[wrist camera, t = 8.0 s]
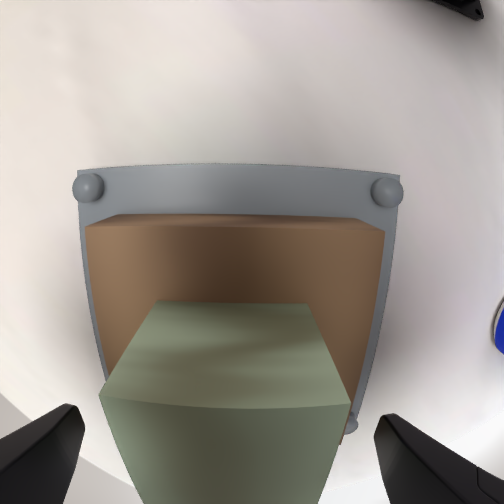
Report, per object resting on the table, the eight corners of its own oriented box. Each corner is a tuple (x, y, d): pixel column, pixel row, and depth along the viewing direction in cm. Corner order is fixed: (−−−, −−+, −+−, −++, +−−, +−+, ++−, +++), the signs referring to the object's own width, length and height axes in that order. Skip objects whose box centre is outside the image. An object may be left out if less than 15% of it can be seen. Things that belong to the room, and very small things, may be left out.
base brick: (355, 217, 13) (385, 231, 10) (327, 405, 15) (340, 444, 12) (117, 214, 12) (84, 226, 9) (142, 401, 15) (127, 439, 12)
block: (307, 303, 10) (350, 403, 5) (294, 412, 11) (313, 513, 7) (157, 300, 10) (98, 394, 5) (171, 409, 11) (146, 508, 6)
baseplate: (390, 174, 13) (408, 175, 11) (350, 415, 16) (358, 434, 15) (87, 169, 13) (68, 170, 11) (122, 410, 16) (113, 429, 14)
